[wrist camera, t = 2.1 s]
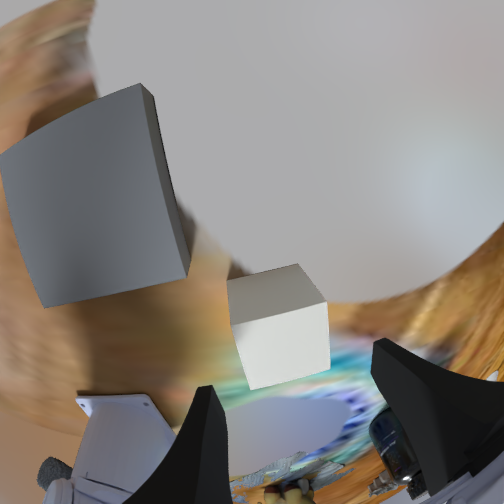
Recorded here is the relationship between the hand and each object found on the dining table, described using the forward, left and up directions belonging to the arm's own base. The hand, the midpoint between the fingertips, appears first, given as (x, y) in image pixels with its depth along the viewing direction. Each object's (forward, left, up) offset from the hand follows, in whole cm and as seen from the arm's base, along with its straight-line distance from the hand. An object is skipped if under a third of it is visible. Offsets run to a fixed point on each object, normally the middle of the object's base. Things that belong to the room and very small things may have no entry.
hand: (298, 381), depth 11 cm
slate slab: (+9, +9, -8) cm, 15 cm away
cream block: (0, 0, -7) cm, 7 cm away
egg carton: (-49, -17, -8) cm, 53 cm away
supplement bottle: (-21, -12, -7) cm, 25 cm away
